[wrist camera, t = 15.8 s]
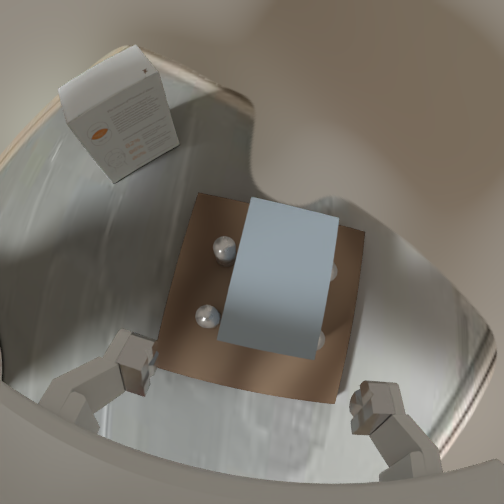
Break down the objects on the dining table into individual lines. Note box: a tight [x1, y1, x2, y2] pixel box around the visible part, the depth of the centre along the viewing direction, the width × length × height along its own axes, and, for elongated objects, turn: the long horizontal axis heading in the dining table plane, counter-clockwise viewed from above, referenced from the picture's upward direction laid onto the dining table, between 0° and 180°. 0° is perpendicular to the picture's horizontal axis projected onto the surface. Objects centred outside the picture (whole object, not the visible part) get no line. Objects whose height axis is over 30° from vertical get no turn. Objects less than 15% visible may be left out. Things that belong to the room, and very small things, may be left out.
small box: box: [58, 45, 179, 184], centre depth 23 cm, size 8×6×10 cm
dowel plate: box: [156, 193, 365, 404], centre depth 23 cm, size 15×15×4 cm
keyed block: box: [217, 197, 339, 360], centre depth 18 cm, size 4×7×10 cm, turn 167°
